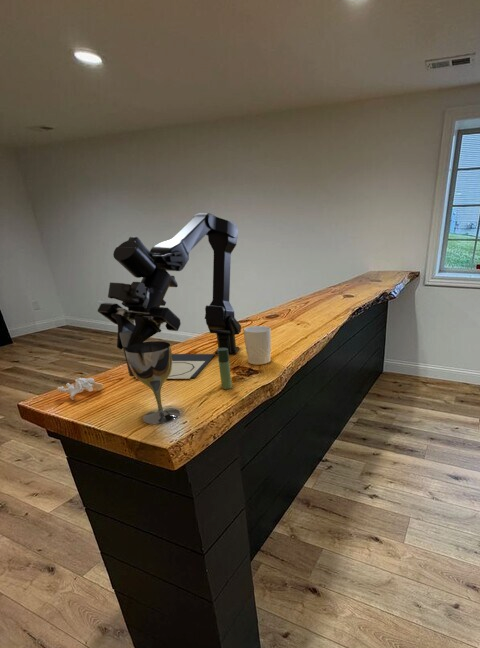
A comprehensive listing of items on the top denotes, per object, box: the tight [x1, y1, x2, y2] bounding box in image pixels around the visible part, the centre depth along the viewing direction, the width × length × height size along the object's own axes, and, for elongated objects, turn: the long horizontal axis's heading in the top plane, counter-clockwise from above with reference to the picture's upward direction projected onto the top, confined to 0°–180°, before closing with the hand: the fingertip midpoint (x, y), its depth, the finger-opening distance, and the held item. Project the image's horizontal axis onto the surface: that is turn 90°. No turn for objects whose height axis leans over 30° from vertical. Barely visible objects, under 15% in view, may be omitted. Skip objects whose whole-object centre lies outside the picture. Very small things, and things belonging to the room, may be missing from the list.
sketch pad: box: [133, 353, 216, 380], centre depth 101 cm, size 21×16×1 cm
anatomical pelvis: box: [56, 377, 104, 401], centre depth 82 cm, size 8×4×7 cm
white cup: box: [243, 325, 272, 366], centre depth 103 cm, size 8×8×10 cm
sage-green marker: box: [216, 348, 233, 390], centre depth 85 cm, size 2×2×10 cm
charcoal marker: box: [119, 331, 135, 377], centre depth 78 cm, size 2×2×10 cm
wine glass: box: [125, 340, 181, 425], centre depth 70 cm, size 8×8×15 cm
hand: (124, 349), depth 76 cm, fingers closed on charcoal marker, 2 cm apart
